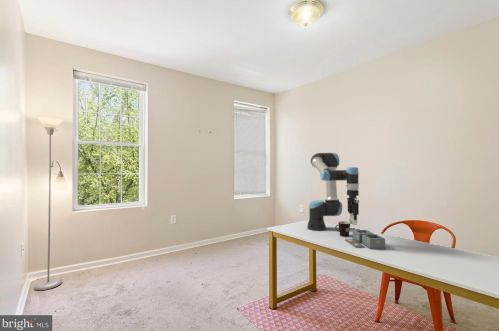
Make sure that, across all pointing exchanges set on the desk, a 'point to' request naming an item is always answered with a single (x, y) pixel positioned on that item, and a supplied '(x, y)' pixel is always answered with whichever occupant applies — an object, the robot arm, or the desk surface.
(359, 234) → the grey square bin
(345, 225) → the coffee mug
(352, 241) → the card
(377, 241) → the grey open box
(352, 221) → the olive ball
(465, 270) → the desk surface
